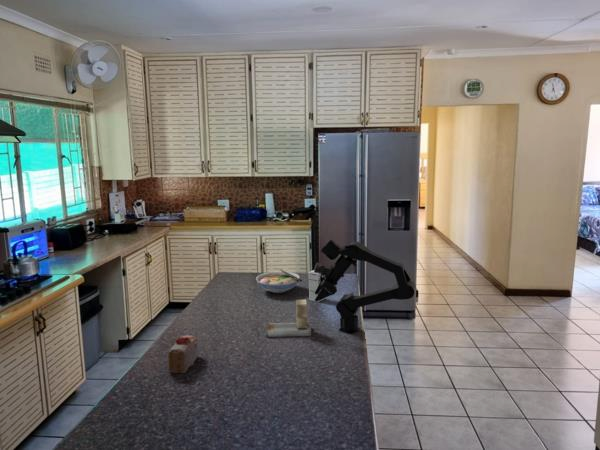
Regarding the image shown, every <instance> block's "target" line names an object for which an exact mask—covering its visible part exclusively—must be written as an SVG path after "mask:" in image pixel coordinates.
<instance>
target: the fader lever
mask: <svg viewBox="0 0 600 450" xmlns="http://www.w3.org/2000/svg"><path fill="white" fill-rule="evenodd" d="M295 301H296V303H295V305H296V322H297V329H307V322H308V305H307V304H308V303H307V299H296V300H295Z"/></svg>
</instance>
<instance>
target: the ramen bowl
mask: <svg viewBox="0 0 600 450" xmlns="http://www.w3.org/2000/svg"><path fill="white" fill-rule="evenodd" d="M278 269H279V268H278ZM255 280H256V282H257V283H258V285H259V286H260V287H261V288H262V289H263V290H265V291H267V292H271V293H273V294H282V293H285V292H287V291H289V290H291V289H293V288H294V287H295V286H296V285H297V284H298V283H299V282H303V279H301V276H300V275H299V274H298V273H295V272H291V271H285V270H283V269H279V271H268V272H265V273H261V274H258V275H257V276H256V278H255Z"/></svg>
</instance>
